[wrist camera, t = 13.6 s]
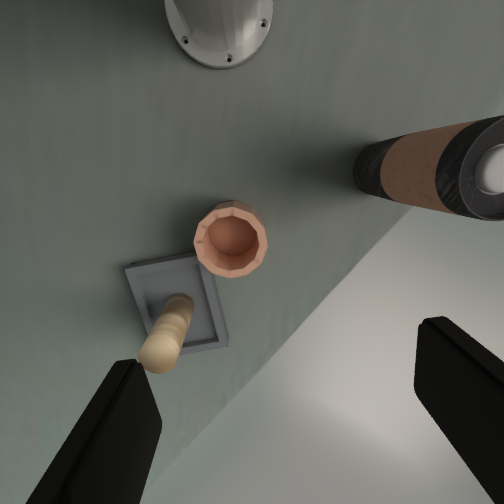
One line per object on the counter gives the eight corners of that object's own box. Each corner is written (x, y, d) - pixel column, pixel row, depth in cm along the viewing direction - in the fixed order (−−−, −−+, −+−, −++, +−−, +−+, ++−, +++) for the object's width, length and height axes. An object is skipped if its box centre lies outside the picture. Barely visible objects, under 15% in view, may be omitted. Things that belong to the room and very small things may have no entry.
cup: (196, 207, 39) (186, 215, 32) (257, 195, 39) (259, 201, 32) (210, 264, 42) (204, 282, 35) (267, 253, 41) (271, 270, 35)
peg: (163, 296, 42) (132, 346, 30) (190, 290, 42) (170, 339, 30) (171, 319, 43) (145, 376, 32) (198, 314, 43) (181, 369, 32)
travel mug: (370, 207, 40) (487, 243, 20) (340, 167, 38) (437, 165, 19) (414, 171, 38) (583, 174, 19) (385, 127, 36) (539, 82, 17)
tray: (131, 263, 41) (124, 269, 39) (207, 249, 41) (204, 254, 39) (160, 349, 46) (156, 358, 44) (228, 337, 46) (228, 346, 43)
